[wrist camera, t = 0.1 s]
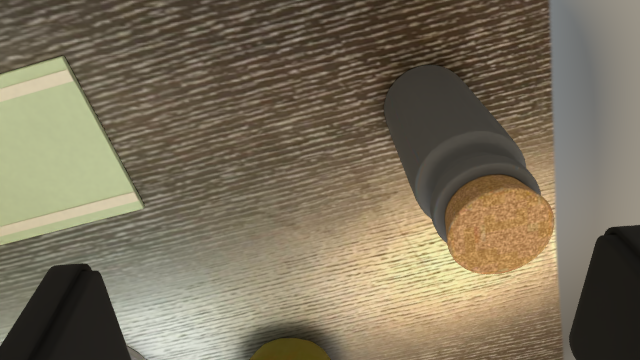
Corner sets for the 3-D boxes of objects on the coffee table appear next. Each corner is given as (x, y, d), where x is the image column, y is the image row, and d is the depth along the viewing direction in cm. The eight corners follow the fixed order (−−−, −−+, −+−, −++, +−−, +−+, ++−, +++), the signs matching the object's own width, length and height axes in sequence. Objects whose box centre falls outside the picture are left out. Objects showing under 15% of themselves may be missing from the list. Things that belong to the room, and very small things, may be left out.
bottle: (455, 145, 37) (543, 287, 24) (376, 139, 36) (422, 281, 23) (476, 67, 34) (589, 181, 21) (391, 59, 33) (452, 172, 20)
